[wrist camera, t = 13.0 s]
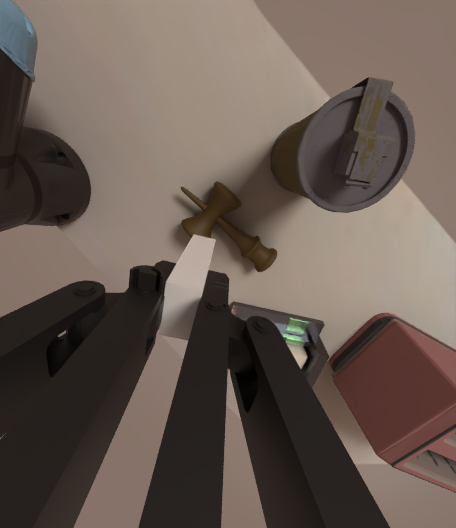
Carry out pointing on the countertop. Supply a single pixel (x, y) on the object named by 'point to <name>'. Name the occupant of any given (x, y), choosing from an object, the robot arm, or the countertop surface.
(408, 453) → the toaster
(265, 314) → the grey slider puzzle board
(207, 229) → the kendama
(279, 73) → the countertop surface
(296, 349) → the cream cube block
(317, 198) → the canister
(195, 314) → the robot arm
